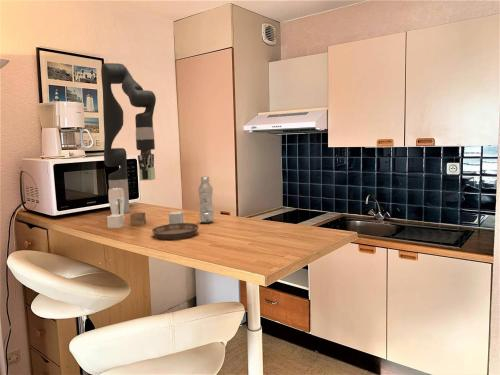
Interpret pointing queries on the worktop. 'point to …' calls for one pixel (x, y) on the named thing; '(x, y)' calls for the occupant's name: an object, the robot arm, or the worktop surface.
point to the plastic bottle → (205, 201)
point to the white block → (115, 221)
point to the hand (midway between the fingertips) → (147, 178)
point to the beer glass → (116, 201)
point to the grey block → (176, 217)
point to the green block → (150, 174)
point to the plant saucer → (175, 231)
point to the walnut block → (138, 219)
